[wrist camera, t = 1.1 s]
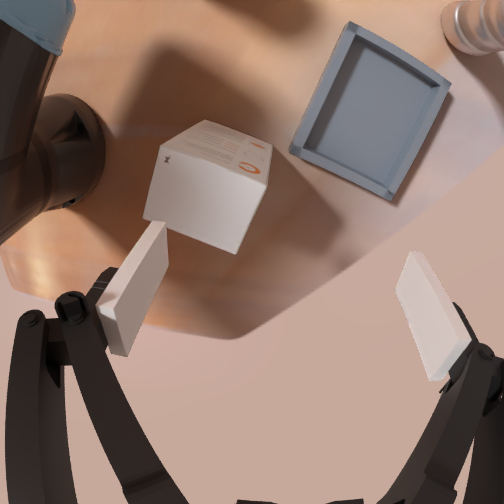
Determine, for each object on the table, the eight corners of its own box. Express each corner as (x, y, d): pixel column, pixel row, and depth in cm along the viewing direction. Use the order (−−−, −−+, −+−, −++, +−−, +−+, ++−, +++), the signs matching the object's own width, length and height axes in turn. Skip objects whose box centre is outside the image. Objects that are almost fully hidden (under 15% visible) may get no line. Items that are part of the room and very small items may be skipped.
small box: (186, 169, 34) (139, 219, 23) (204, 117, 31) (158, 142, 20) (253, 195, 35) (236, 257, 24) (275, 145, 32) (269, 184, 21)
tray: (288, 147, 32) (289, 152, 30) (344, 25, 24) (349, 20, 22) (384, 193, 33) (390, 201, 31) (441, 82, 25) (451, 83, 23)
